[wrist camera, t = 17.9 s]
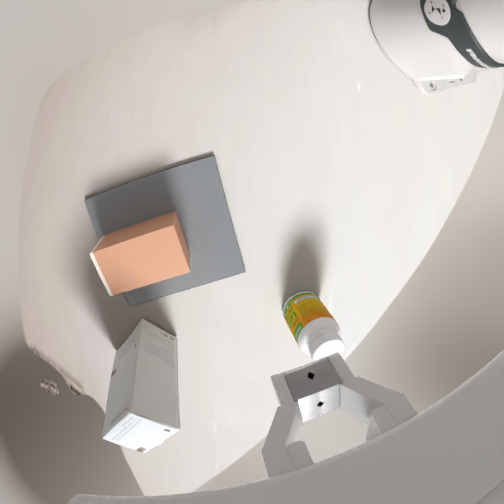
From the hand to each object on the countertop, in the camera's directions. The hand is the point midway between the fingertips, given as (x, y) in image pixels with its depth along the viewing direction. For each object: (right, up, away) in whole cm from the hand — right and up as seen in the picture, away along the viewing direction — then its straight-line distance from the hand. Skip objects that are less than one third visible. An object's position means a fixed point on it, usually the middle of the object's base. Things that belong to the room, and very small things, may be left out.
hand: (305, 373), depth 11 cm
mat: (-12, +7, +20) cm, 24 cm away
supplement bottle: (+4, -2, +28) cm, 28 cm away
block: (-9, +6, +18) cm, 21 cm away
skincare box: (-17, -8, +25) cm, 32 cm away
